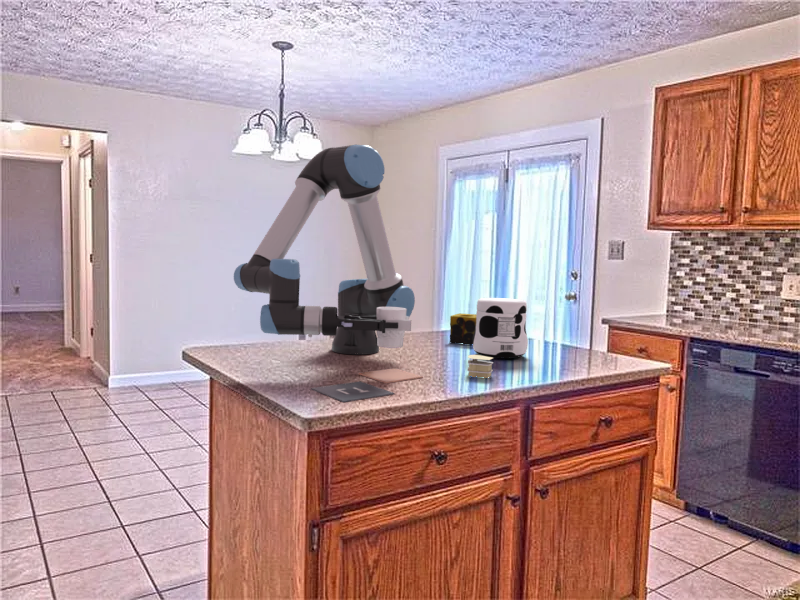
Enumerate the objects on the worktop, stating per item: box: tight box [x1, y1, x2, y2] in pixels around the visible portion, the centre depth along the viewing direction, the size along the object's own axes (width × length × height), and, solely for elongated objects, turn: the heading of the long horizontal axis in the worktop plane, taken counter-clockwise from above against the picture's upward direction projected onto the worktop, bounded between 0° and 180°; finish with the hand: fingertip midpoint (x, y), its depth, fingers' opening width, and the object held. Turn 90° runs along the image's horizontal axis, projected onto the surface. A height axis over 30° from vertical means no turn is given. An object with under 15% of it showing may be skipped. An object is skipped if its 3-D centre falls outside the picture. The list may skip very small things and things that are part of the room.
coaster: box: [358, 367, 424, 384], centre depth 163 cm, size 12×12×1 cm
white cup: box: [376, 307, 407, 349], centre depth 162 cm, size 8×8×10 cm
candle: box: [449, 313, 476, 345], centre depth 223 cm, size 10×10×10 cm
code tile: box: [311, 380, 395, 403], centre depth 145 cm, size 14×14×1 cm
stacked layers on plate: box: [467, 354, 494, 379], centre depth 166 cm, size 10×9×6 cm
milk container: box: [472, 297, 529, 359], centre depth 197 cm, size 17×17×18 cm
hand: (409, 323), depth 162 cm, fingers closed on white cup, 8 cm apart
